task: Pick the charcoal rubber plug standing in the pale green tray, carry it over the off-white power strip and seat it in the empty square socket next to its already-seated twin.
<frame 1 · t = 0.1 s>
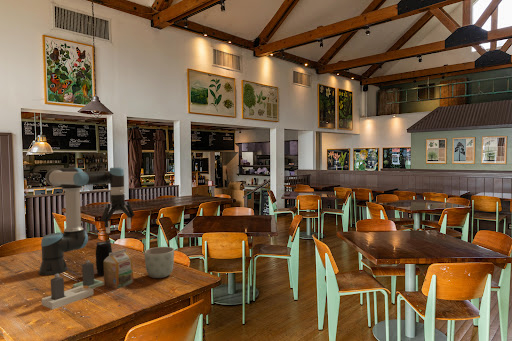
hand: (118, 230, 199), 28 cm above the table, fingers open, 13 cm apart
milk carton: (118, 285, 189), on the table
portable speaker: (104, 274, 208), on the table
plug: (88, 285, 188), resting on tray
tray: (88, 286, 188), on the table
planter: (160, 276, 203), on the table
twin plug: (58, 303, 165), resting on power strip
power strip: (68, 300, 169), on the table
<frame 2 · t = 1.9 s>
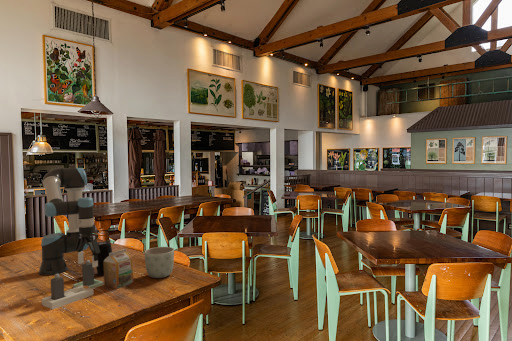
hand: (87, 265, 187), 12 cm above the table, fingers open, 13 cm apart
nothing on the table moved.
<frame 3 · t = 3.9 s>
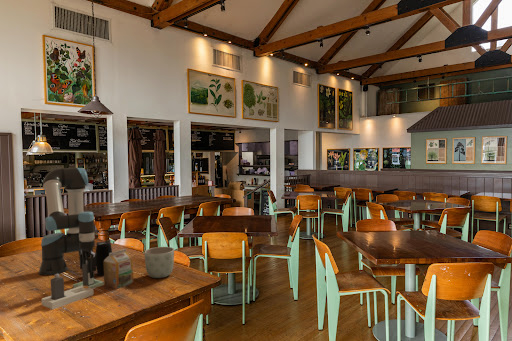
hand: (88, 282, 188), 2 cm above the table, fingers closed on plug, 4 cm apart
plug: (88, 285, 188), resting on tray, touching gripper
everything else where it was.
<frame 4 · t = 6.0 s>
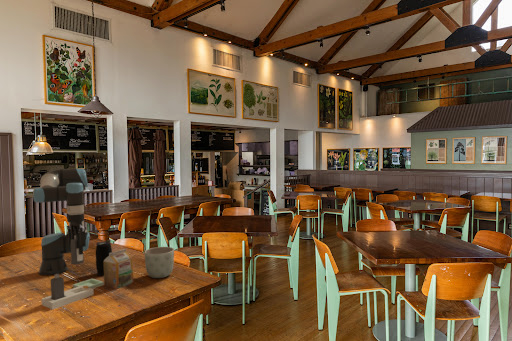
hand: (77, 259, 173), 19 cm above the table, fingers closed on plug, 4 cm apart
plug: (77, 263, 173), point 17 cm above the table, touching gripper
everything else where it was.
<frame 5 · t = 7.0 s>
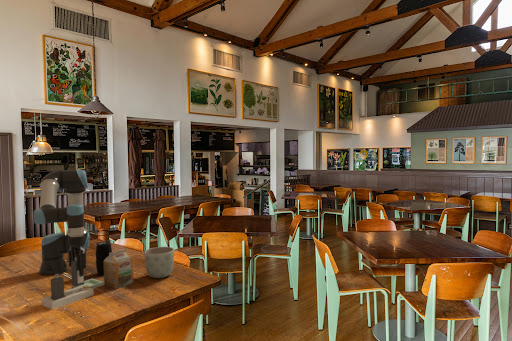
hand: (77, 281, 173), 8 cm above the table, fingers closed on plug, 4 cm apart
plug: (78, 284, 173), point 6 cm above the table, touching gripper
everything else where it was.
when the fingers open (4 cm above the table, at t = 8.0 s): plug drops 2 cm, resting on power strip.
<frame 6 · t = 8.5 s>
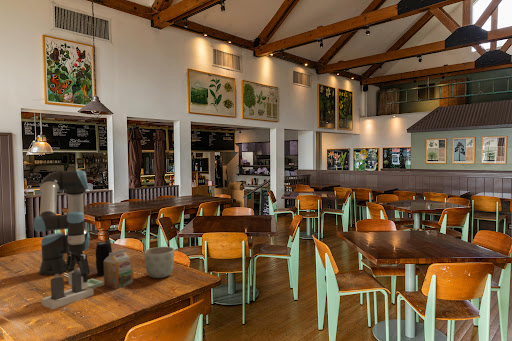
hand: (78, 286, 173), 5 cm above the table, fingers open, 11 cm apart
plug: (78, 296, 174), point 1 cm above the table, touching power strip
everything else where it was.
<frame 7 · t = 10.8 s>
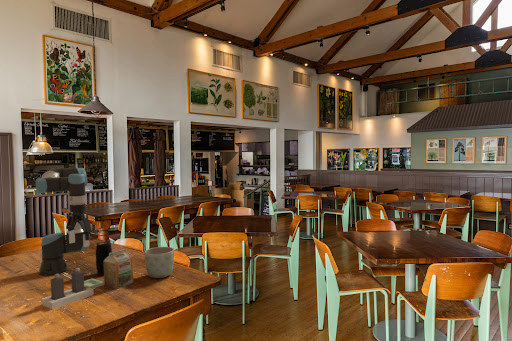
hand: (79, 244, 179), 25 cm above the table, fingers open, 13 cm apart
nothing on the table moved.
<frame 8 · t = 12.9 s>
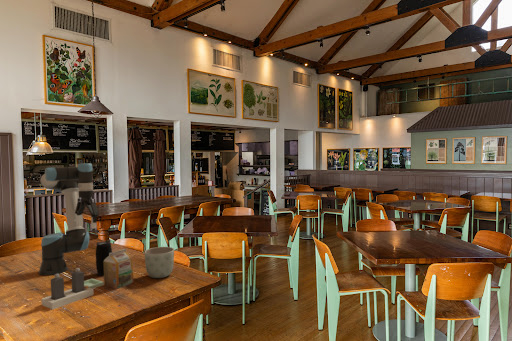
hand: (87, 227, 197), 31 cm above the table, fingers open, 13 cm apart
nothing on the table moved.
at the end: plug 0.1 cm from the target spot on the power strip, point 0.5 cm above the power strip's base; plug tilted 0°; twin plug moved 0.1 cm from its start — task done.
